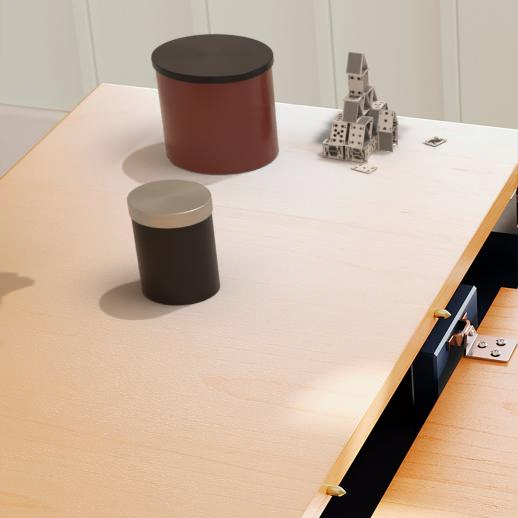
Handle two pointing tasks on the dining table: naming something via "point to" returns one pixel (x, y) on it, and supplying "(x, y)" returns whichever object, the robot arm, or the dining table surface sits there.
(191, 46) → the tin
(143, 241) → the black lidded canister
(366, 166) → the house of cards
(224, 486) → the dining table surface
